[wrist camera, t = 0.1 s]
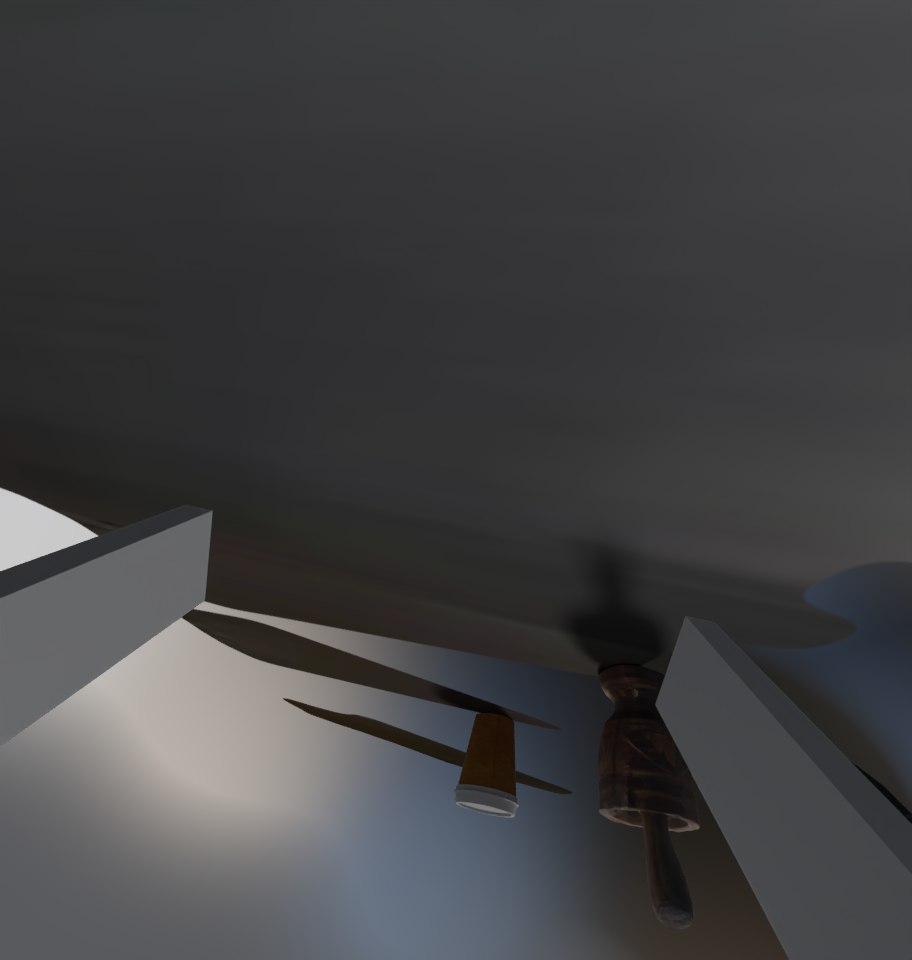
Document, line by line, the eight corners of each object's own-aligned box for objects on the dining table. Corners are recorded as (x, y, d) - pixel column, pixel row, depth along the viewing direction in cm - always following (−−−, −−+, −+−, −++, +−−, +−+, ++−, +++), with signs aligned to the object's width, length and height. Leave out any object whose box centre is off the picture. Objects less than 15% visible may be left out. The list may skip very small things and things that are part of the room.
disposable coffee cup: (499, 731, 75) (490, 817, 67) (455, 713, 72) (440, 800, 64) (536, 725, 69) (532, 819, 60) (489, 705, 66) (478, 801, 58)
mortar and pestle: (576, 649, 46) (578, 905, 33) (663, 646, 42) (705, 936, 29) (605, 690, 53) (616, 917, 40) (682, 691, 49) (724, 943, 36)
